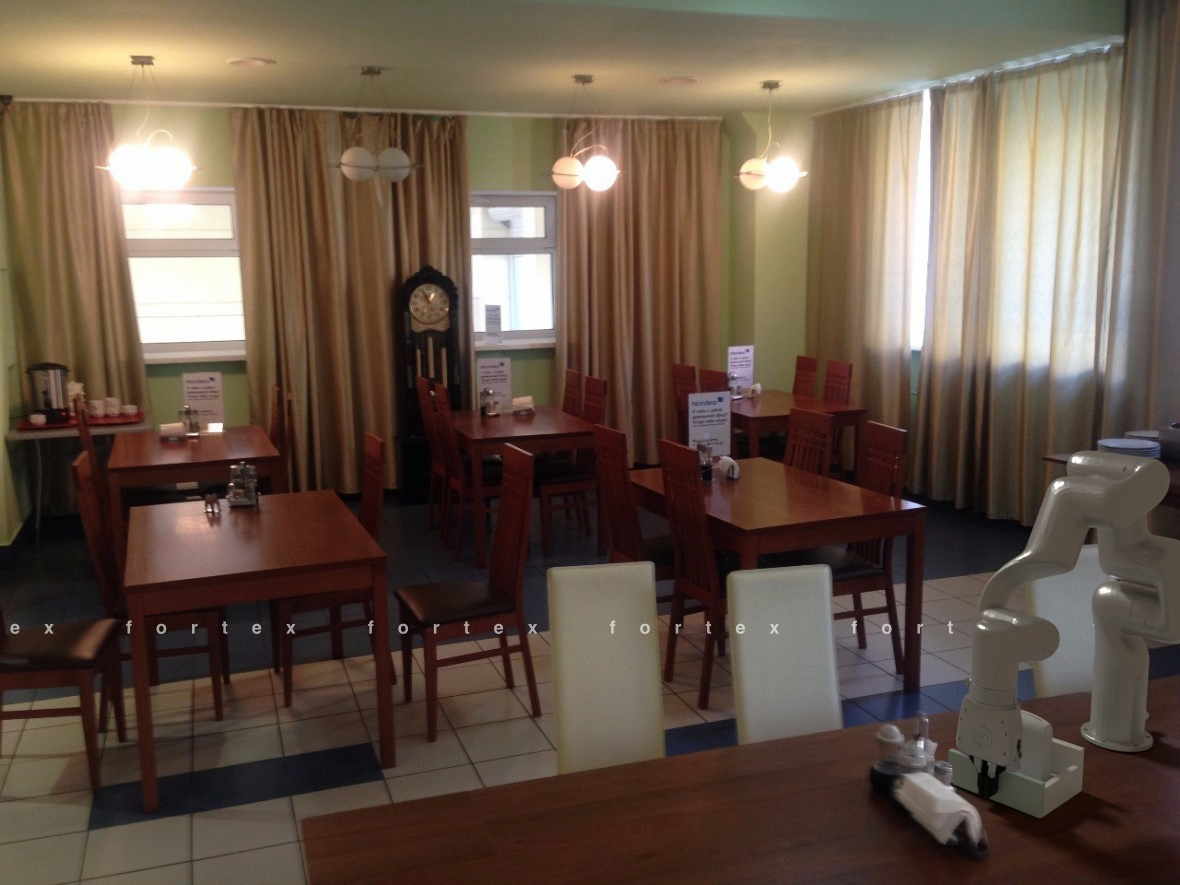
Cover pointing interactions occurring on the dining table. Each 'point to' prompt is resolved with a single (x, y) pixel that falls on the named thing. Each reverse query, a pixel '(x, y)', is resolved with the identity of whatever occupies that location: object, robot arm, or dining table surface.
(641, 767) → the dining table surface
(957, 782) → the tray
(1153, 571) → the robot arm
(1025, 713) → the photo printer
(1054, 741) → the dock
